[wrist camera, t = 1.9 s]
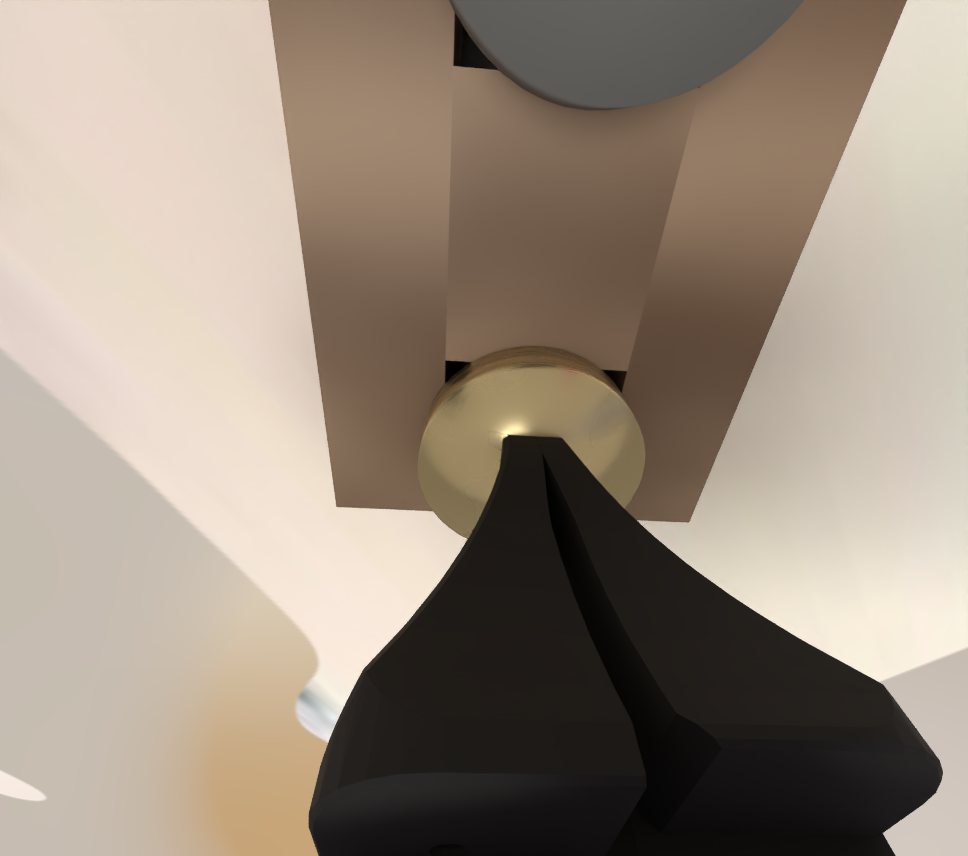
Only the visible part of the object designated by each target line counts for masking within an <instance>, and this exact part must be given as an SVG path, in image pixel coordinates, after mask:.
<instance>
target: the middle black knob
mask: <svg viewBox="0 0 968 856" xmlns="http://www.w3.org/2000/svg"><path fill="white" fill-rule="evenodd" d="M449 1H450V3H451V5H452V8H453V10H454V11H455V13H456V15H457V16H458V18H459V20H460V21H461V23H462V25H463V26H464V28H465V30H466V31H467V33H468V35H469V36H470V37H471V39H472V40H473V41H474V43H475V44H476V45H477V46H478V48H479V49H480V50H481V52H482V53H483V54H484V55H485V57H486V58H487V59H488V60H489V61H490V62H491V63H492V64H493V65H494V66H495V67H496V68H497V69H498V70H499V71H500V72H501V73H502V74H503V75H505V76H506V77H507V78H509V79H510V80H512V81H513V82H514V83H516V84H517V85H518V86H520V87H521V88H522V89H524V90H526V91H528V92H530V93H532V94H533V95H535V96H537V97H539V98H541V99H543V100H546V101H549V102H552V103H555V104H557V105H560V106H563V107H569V108H575V109H580V110H614V109H621V108H628V107H634V106H639V105H645V104H651V103H656V102H659V101H662V100H666V99H669V98H672V97H675V96H679V95H682V94H684V93H686V92H688V91H691V90H693V89H695V88H697V87H699V86H701V85H704V84H706V83H708V82H710V81H711V80H713V79H715V78H716V77H718V76H719V75H721V74H723V73H724V72H726V71H727V70H729V69H731V68H732V67H734V66H735V65H737V64H738V63H739V62H740V61H742V60H743V59H744V58H746V57H747V56H748V55H749V54H751V53H752V52H753V51H754V50H756V49H757V48H758V47H759V46H761V45H762V44H763V43H764V42H765V41H766V40H767V39H768V38H769V37H770V36H771V35H772V34H773V33H774V32H775V31H776V30H777V29H778V28H779V27H780V26H781V25H782V24H783V23H785V22H786V21H787V20H788V18H789V17H790V16H791V15H792V14H793V13H794V11H795V10H796V9H797V8H798V7H799V6H800V4H801V3H802V2H803V1H804V0H449Z"/></svg>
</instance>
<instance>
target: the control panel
mask: <svg viewBox="0 0 968 856" xmlns="http://www.w3.org/2000/svg"><path fill="white" fill-rule="evenodd" d="M268 1H269V8H270V16H271V23H272V31H273V38H274V45H275V53H276V60H277V68H278V75H279V83H280V90H281V97H282V105H283V112H284V120H285V127H286V135H287V142H288V150H289V157H290V164H291V172H292V179H293V187H294V194H295V202H296V209H297V216H298V224H299V231H300V239H301V246H302V254H303V261H304V268H305V276H306V283H307V291H308V298H309V306H310V313H311V321H312V328H313V335H314V343H315V350H316V358H317V365H318V373H319V380H320V387H321V395H322V402H323V410H324V417H325V425H326V432H327V440H328V447H329V454H330V462H331V469H332V477H333V484H334V492H335V499H336V506H337V507H352V508H375V509H397V510H420V511H432V509H431V507H430V506H429V504H428V503H427V501H426V499H425V497H424V494H423V492H422V490H421V486H420V482H419V477H418V455H419V449H420V444H421V439H422V433H423V428H424V423H425V419H426V415H427V412H428V410H429V408H430V405H431V403H432V401H433V400H434V398H435V396H436V395H437V393H438V392H439V390H440V389H441V388H442V387H443V385H444V384H445V383H446V382H447V381H448V380H449V379H450V378H451V361H465V362H473V361H475V360H477V359H479V358H481V357H484V356H486V355H489V354H491V353H494V352H498V351H502V350H506V349H510V348H518V347H547V348H555V349H559V350H563V351H567V352H570V353H573V354H575V355H578V356H580V357H583V358H584V359H586V360H588V361H590V362H591V363H593V364H595V365H596V366H597V367H599V368H600V369H601V370H603V371H604V372H605V373H606V374H607V375H608V376H609V377H610V378H611V379H612V380H613V381H614V383H615V384H616V386H617V387H618V388H619V390H620V391H621V393H622V395H623V397H624V398H625V400H626V402H627V404H628V406H629V407H630V409H631V411H632V413H633V415H634V417H635V418H636V420H637V423H638V425H639V427H640V429H641V432H642V436H643V439H644V444H645V466H644V471H643V475H642V479H641V481H640V484H639V486H638V489H637V490H636V492H635V494H634V496H633V497H632V499H631V501H630V502H629V503H628V504H627V506H626V507H625V508H624V509H625V510H626V511H627V512H628V513H629V514H631V515H632V516H633V517H634V518H635V519H636V520H645V521H668V522H689V521H690V519H691V516H692V514H693V512H694V509H695V507H696V504H697V502H698V500H699V497H700V495H701V492H702V490H703V488H704V485H705V483H706V480H707V478H708V476H709V473H710V471H711V468H712V466H713V464H714V461H715V459H716V456H717V454H718V452H719V449H720V447H721V444H722V442H723V440H724V437H725V435H726V432H727V430H728V428H729V425H730V423H731V420H732V418H733V416H734V413H735V411H736V409H737V406H738V404H739V401H740V399H741V397H742V394H743V392H744V389H745V387H746V385H747V382H748V380H749V377H750V375H751V373H752V370H753V368H754V365H755V363H756V361H757V358H758V356H759V353H760V351H761V349H762V346H763V344H764V341H765V339H766V337H767V334H768V332H769V329H770V327H771V325H772V322H773V320H774V317H775V315H776V313H777V310H778V308H779V305H780V303H781V301H782V298H783V296H784V294H785V291H786V289H787V286H788V284H789V282H790V279H791V277H792V274H793V272H794V270H795V267H796V265H797V262H798V260H799V258H800V255H801V253H802V250H803V248H804V246H805V243H806V241H807V238H808V236H809V234H810V231H811V229H812V226H813V224H814V222H815V219H816V217H817V214H818V212H819V210H820V207H821V205H822V202H823V200H824V198H825V195H826V193H827V190H828V188H829V186H830V183H831V181H832V179H833V176H834V174H835V171H836V169H837V167H838V164H839V162H840V159H841V157H842V155H843V152H844V150H845V147H846V145H847V143H848V140H849V138H850V135H851V133H852V131H853V128H854V126H855V123H856V121H857V119H858V116H859V114H860V111H861V109H862V107H863V104H864V102H865V99H866V97H867V95H868V92H869V90H870V87H871V85H872V83H873V80H874V78H875V75H876V73H877V71H878V68H879V66H880V64H881V61H882V59H883V56H884V54H885V52H886V49H887V47H888V44H889V42H890V40H891V37H892V35H893V32H894V30H895V28H896V25H897V23H898V20H899V18H900V16H901V13H902V11H903V8H904V6H905V4H906V1H907V0H804V1H803V2H802V3H801V4H800V6H799V7H798V8H797V9H796V10H795V11H794V13H793V14H792V15H791V16H790V17H789V18H788V20H787V21H786V22H785V23H783V24H782V25H781V26H780V27H779V28H778V29H777V30H776V31H775V32H774V33H773V34H772V35H771V36H770V37H769V38H768V39H767V40H766V41H765V42H764V43H763V44H762V45H761V46H759V47H758V48H757V49H756V50H754V51H753V52H752V53H751V54H749V55H748V56H747V57H746V58H744V59H743V60H742V61H740V62H739V63H738V64H737V65H735V66H734V67H732V68H731V69H729V70H727V71H726V72H724V73H723V74H721V75H719V76H718V77H716V78H715V79H713V80H711V81H710V82H708V83H706V84H704V85H701V86H699V87H697V88H695V89H693V90H691V91H688V92H686V93H684V94H682V95H679V96H675V97H672V98H669V99H666V100H662V101H659V102H656V103H651V104H645V105H639V106H634V107H628V108H621V109H614V110H580V109H575V108H569V107H563V106H560V105H557V104H555V103H552V102H549V101H546V100H543V99H541V98H539V97H537V96H535V95H533V94H532V93H530V92H528V91H526V90H524V89H522V88H521V87H520V86H518V85H517V84H516V83H514V82H513V81H512V80H510V79H509V78H507V77H506V76H505V75H503V74H502V73H501V72H500V71H499V70H492V69H481V68H469V67H462V40H463V25H462V23H461V21H460V20H459V18H458V16H457V15H456V13H455V11H454V10H453V8H452V5H451V3H450V1H449V0H268Z"/></svg>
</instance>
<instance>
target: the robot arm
mask: <svg viewBox="0 0 968 856" xmlns="http://www.w3.org/2000/svg"><path fill="white" fill-rule="evenodd" d="M942 775H943V771H942V767H941V764H940V760H939V759H938V758H937V756H936V755H935V754H934V752H933V751H932V750H931V748H930V747H929V746H928V744H927V743H926V741H925V740H924V739H923V737H922V736H921V735H920V733H919V732H918V731H917V729H916V728H915V726H914V725H913V724H912V723H911V721H910V720H909V718H908V717H907V716H906V714H905V713H904V712H903V710H902V709H901V708H900V706H899V705H898V704H897V702H896V701H895V700H894V698H893V697H892V696H891V694H890V693H889V692H888V690H887V689H886V688H885V687H884V685H883V684H881V683H879V682H878V681H876V680H874V679H872V678H870V677H868V676H867V675H865V674H863V673H861V672H859V671H857V670H856V669H854V668H852V667H850V666H848V665H846V664H845V663H843V662H841V661H839V660H837V659H835V658H834V657H832V656H830V655H828V654H826V653H824V652H823V651H821V650H819V649H817V648H815V647H813V646H812V645H810V644H808V643H806V642H804V641H803V640H801V639H799V638H797V637H796V636H794V635H792V634H791V633H789V632H788V631H786V630H784V629H783V628H781V627H779V626H778V625H776V624H775V623H773V622H771V621H770V620H768V619H766V618H765V617H763V616H762V615H760V614H758V613H757V612H755V611H754V610H752V609H751V608H749V607H748V606H746V605H744V604H743V603H741V602H740V601H738V600H737V599H735V598H734V597H732V596H731V595H729V594H728V593H727V592H725V591H724V590H722V589H721V588H720V587H718V586H717V585H715V584H714V583H713V582H711V581H710V580H708V579H707V578H706V577H704V576H703V575H701V574H700V573H699V572H697V571H696V570H695V569H693V568H692V567H691V566H689V565H688V564H687V563H686V562H684V561H683V560H682V559H680V558H679V557H678V556H677V555H676V554H674V553H673V552H672V551H671V550H670V549H668V548H667V547H666V546H665V545H664V544H662V543H661V542H660V541H659V540H658V539H656V538H655V537H654V536H653V535H652V534H651V533H650V532H648V531H647V530H646V529H645V528H644V527H643V526H642V525H641V524H640V523H639V522H638V521H637V520H636V519H635V518H634V517H633V516H632V515H631V514H629V513H628V512H627V511H626V510H625V509H624V508H623V507H622V506H621V505H620V504H619V503H618V502H617V501H616V499H615V498H614V497H613V496H612V495H611V494H610V493H609V492H608V491H607V490H606V489H605V488H604V487H603V485H602V484H601V483H600V482H599V481H598V480H597V479H596V478H595V476H594V475H593V474H592V473H591V472H590V471H589V469H588V468H587V467H586V466H585V465H584V463H583V462H582V461H581V460H580V459H579V457H578V456H577V455H576V454H575V452H574V451H573V450H572V449H571V448H570V446H569V445H568V444H567V443H566V442H565V440H564V439H563V438H558V437H537V436H518V435H508V436H506V437H505V438H503V442H502V451H501V460H500V468H499V471H498V474H497V477H496V480H495V483H494V486H493V489H492V491H491V494H490V496H489V498H488V500H487V503H486V505H485V507H484V509H483V511H482V513H481V516H480V518H479V520H478V522H477V523H476V525H475V527H474V529H473V531H472V533H471V534H470V536H469V538H468V540H467V541H466V543H465V545H464V546H463V548H462V550H461V551H460V553H459V554H458V556H457V557H456V559H455V560H454V562H453V563H452V565H451V566H450V568H449V569H448V571H447V572H446V574H445V575H444V577H443V578H442V579H441V581H440V582H439V583H438V585H437V586H436V587H435V589H434V590H433V591H432V592H431V594H430V595H429V596H428V597H427V599H426V600H425V601H424V602H423V604H422V605H421V606H420V607H419V609H418V610H417V611H416V612H415V614H414V615H413V616H412V617H411V619H410V620H409V621H408V622H407V623H406V624H405V625H404V627H403V628H402V629H401V630H400V631H399V632H398V633H397V634H396V635H395V636H394V637H393V639H392V640H391V641H390V642H389V643H388V644H387V645H386V646H385V647H384V648H383V649H382V650H381V651H380V652H379V653H378V654H377V655H376V657H375V658H374V659H373V660H372V661H371V662H370V663H369V664H368V665H367V666H366V667H365V668H364V669H363V671H362V673H361V675H360V677H359V679H358V680H357V682H356V684H355V686H354V688H353V690H352V692H351V694H350V696H349V698H348V700H347V702H346V704H345V706H344V708H343V710H342V712H341V714H340V716H339V719H338V721H337V723H336V725H335V728H334V730H333V732H332V735H331V737H330V740H329V743H328V745H327V748H326V751H325V754H324V757H323V760H322V763H321V766H320V771H319V774H318V778H317V782H316V786H315V790H314V795H313V798H312V803H311V807H310V811H309V829H310V832H311V835H312V838H313V841H314V844H315V847H316V849H317V852H318V855H319V856H895V854H894V852H893V851H892V849H891V847H890V845H889V844H888V842H887V840H886V838H885V837H884V835H883V832H885V831H886V830H888V829H889V828H890V827H892V826H893V825H894V824H896V823H897V822H899V821H900V820H902V819H903V818H904V817H906V816H907V815H909V814H910V813H912V812H913V811H914V810H916V809H917V808H919V807H920V806H921V805H923V804H924V803H925V802H926V801H927V800H928V799H929V798H931V797H932V795H934V794H935V793H936V791H937V789H938V787H939V785H940V783H941V780H942Z"/></svg>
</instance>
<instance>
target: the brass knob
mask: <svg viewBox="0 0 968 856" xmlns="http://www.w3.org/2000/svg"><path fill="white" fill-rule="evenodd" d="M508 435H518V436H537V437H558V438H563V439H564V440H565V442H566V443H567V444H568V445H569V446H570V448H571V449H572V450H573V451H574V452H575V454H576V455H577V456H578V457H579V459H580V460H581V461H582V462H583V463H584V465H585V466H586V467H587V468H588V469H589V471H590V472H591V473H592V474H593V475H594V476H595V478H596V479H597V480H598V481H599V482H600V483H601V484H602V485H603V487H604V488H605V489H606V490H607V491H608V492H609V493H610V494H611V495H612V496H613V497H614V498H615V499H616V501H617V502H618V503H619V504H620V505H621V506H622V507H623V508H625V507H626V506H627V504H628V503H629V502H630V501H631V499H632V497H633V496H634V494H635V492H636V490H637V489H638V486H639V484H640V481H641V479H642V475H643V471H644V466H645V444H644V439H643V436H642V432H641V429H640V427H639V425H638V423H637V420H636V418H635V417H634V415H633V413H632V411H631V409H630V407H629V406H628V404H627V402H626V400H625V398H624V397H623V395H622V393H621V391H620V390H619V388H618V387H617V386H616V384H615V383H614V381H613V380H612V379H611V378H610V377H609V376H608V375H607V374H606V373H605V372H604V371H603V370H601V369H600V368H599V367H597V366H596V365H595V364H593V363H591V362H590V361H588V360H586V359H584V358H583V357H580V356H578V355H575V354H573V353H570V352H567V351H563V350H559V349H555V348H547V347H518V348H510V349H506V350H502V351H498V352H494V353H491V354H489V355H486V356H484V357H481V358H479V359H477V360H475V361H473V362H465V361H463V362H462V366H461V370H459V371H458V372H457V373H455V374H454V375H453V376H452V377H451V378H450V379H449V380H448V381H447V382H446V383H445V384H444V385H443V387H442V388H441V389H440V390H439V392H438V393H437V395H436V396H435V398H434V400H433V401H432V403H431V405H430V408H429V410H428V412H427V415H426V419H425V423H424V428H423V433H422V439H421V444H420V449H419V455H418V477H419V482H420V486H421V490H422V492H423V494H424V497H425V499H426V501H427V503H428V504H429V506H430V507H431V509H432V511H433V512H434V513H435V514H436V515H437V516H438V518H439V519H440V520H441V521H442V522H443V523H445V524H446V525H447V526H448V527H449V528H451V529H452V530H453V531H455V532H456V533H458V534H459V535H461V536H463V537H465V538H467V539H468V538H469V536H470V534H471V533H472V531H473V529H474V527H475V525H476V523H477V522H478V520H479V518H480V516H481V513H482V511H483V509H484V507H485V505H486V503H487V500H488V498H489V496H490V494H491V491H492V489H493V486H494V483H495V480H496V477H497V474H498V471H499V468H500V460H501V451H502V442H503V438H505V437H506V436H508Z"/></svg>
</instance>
